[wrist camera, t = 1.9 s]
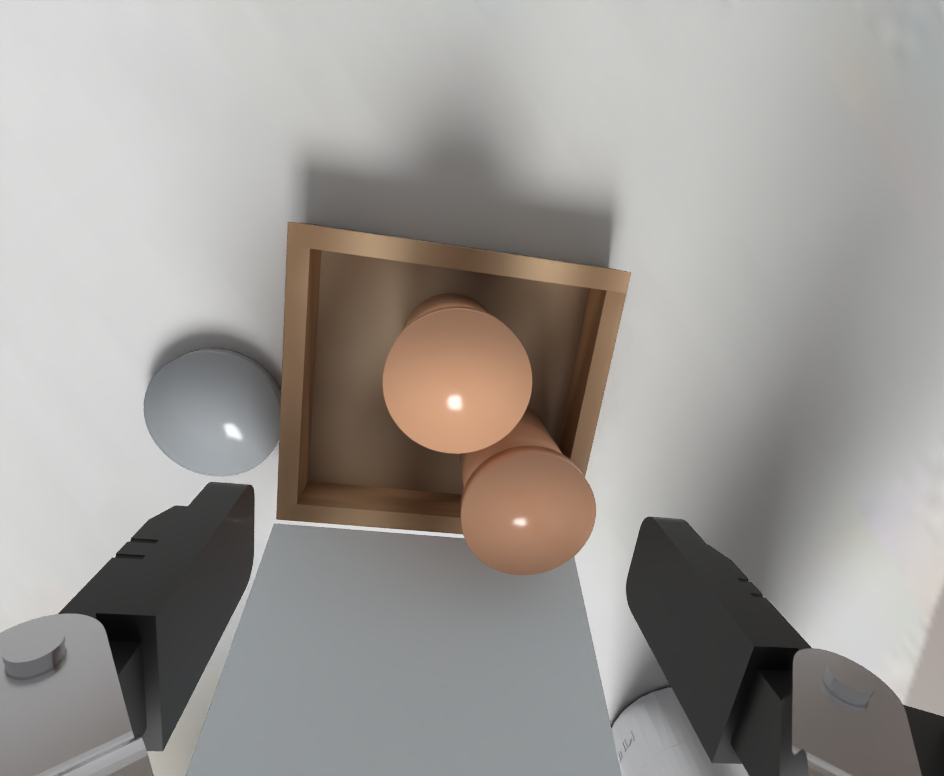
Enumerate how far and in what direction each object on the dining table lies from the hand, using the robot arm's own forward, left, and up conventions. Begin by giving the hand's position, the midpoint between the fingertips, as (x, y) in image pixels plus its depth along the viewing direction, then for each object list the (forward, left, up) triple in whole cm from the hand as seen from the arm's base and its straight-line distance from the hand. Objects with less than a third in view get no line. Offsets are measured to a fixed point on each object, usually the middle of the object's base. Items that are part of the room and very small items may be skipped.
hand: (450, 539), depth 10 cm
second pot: (-4, +5, -18) cm, 19 cm away
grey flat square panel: (-1, +12, -8) cm, 14 cm away
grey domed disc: (+11, +5, -18) cm, 22 cm away
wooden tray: (-1, +2, -18) cm, 18 cm away
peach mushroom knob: (-1, 0, -18) cm, 18 cm away
